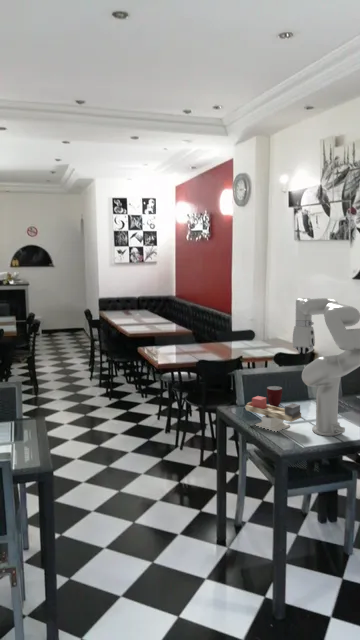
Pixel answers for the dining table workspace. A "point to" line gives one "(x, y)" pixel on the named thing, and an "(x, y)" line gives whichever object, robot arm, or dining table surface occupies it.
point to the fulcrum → (272, 423)
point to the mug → (274, 395)
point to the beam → (278, 411)
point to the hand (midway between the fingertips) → (302, 360)
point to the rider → (259, 402)
